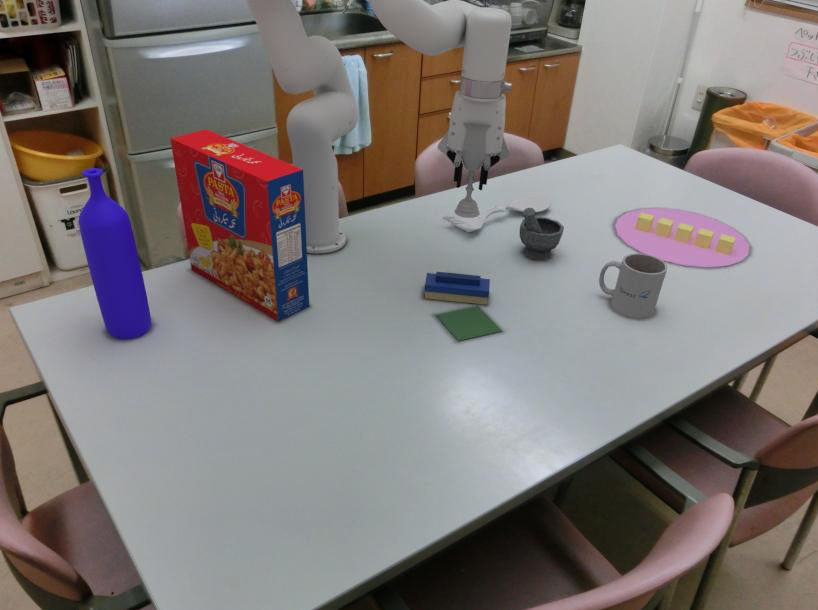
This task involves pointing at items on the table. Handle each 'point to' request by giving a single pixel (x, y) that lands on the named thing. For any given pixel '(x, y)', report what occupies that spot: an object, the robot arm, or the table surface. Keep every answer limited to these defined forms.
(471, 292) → the brush
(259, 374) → the table surface
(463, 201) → the chalice
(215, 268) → the pasta box
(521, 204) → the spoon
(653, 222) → the platter
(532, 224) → the mortar and pestle
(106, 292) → the bottle
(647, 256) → the mug
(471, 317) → the green cloth
